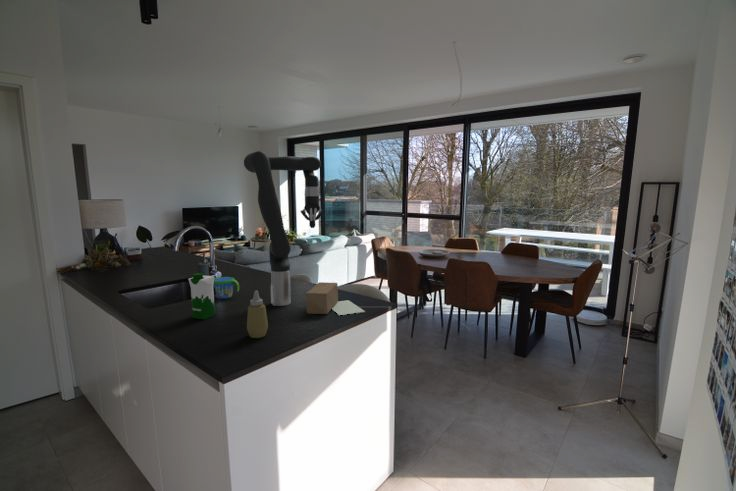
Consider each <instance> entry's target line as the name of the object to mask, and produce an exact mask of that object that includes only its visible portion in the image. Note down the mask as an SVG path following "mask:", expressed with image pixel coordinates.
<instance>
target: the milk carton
mask: <svg viewBox="0 0 736 491" xmlns="http://www.w3.org/2000/svg"><path fill="white" fill-rule="evenodd" d="M215 278H216V277H215V276H212V275H204V273H202V272H196V273H193V274H192V277H191V278H188V279H187V280H188V283H189V286H190V297H191V319H197V320H207V319H209V318H211V317H214V316H216V313H217V312H216V307H215V295H214V279H215Z"/></svg>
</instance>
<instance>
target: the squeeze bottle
mask: <svg viewBox="0 0 736 491" xmlns="http://www.w3.org/2000/svg"><path fill="white" fill-rule="evenodd" d="M249 302H250V304H249V306H248V307H247V318H246V319H247V320H246V331H247V332H248V335H249V337H250V338H252V339H260V338H264V337H265V336H266V335H267V332H268V328H269V323H268V322H269V321H268V316H267V308H266V305H265V304H264V302H263V298H261V297H260V295H259V291H258V290H254V292H253V298H252V299H250V300H249Z"/></svg>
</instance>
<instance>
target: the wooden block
mask: <svg viewBox="0 0 736 491" xmlns="http://www.w3.org/2000/svg"><path fill="white" fill-rule="evenodd" d="M338 289H339V288H338V283H337V282H321V281H320V282H318V283H316V284H315V285H314V286H313V287H311V288H310V289H309V290H308V291H307V292H305V303H306V305H305V306H306V313H307V315H308V314H309V315H310V314H312V315H328V314H329V313H330V311H332V310H331V309H332V308H333V307H334V306H335V304H336V303H337V302H338V301H339V290H338Z"/></svg>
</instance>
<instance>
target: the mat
mask: <svg viewBox="0 0 736 491" xmlns="http://www.w3.org/2000/svg"><path fill="white" fill-rule="evenodd" d="M331 311H332V312H334V313H335V312H336V313H337V315H338V316H340V315H343V316H348V315H347V314H350V315H354V313H356V314H362V313H366V311H365V310H364V309H362V308H361V307H359V306H358V305H356V304H355V303H353V302H352V301H350V300H341V301H339V300H338V302H337V303H336V304H335V306H334V307H333V308H332V310H331ZM336 313H335V314H336ZM340 317H341V316H340Z"/></svg>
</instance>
